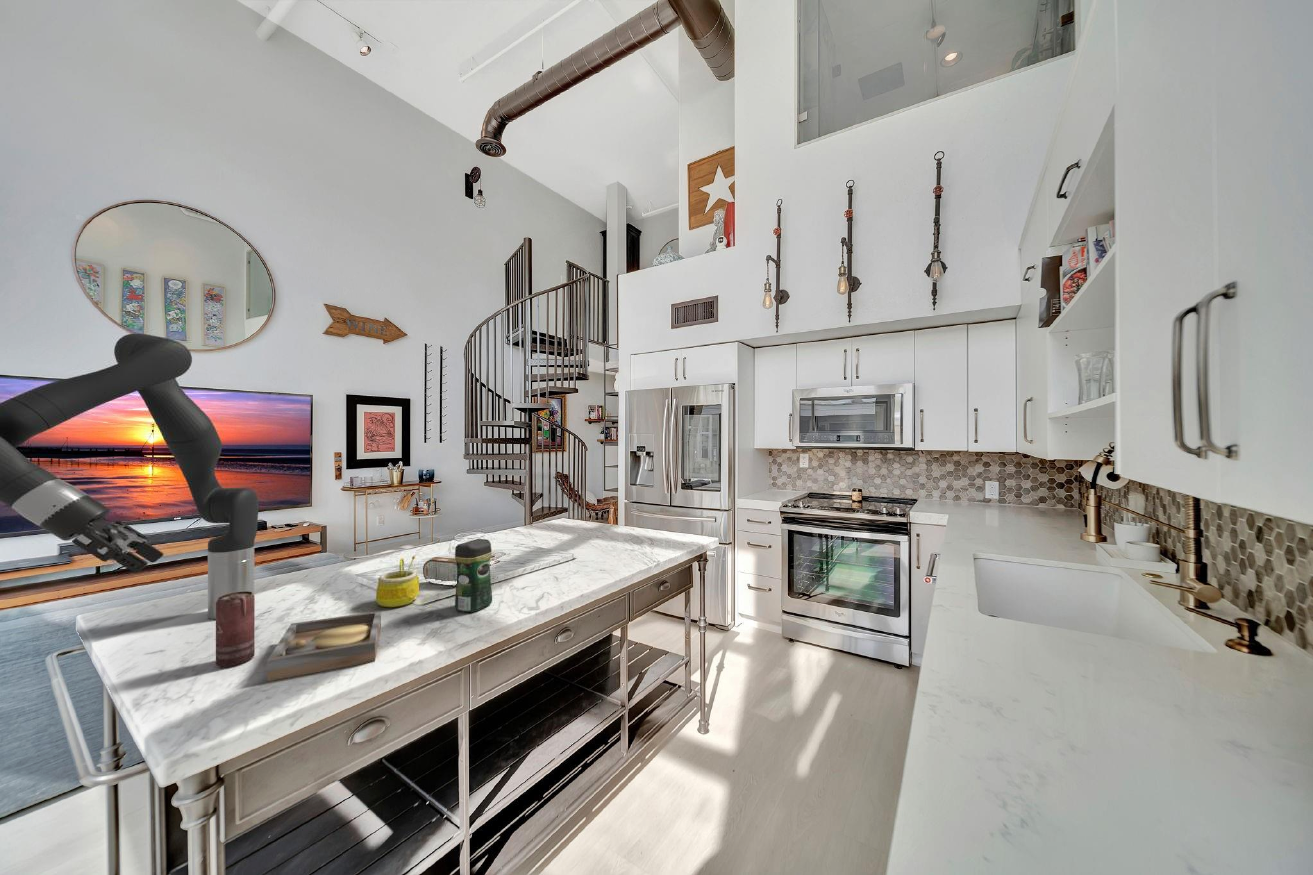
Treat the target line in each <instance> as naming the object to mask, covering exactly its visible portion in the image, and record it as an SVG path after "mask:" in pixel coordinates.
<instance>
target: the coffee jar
mask: <svg viewBox="0 0 1313 875" xmlns="http://www.w3.org/2000/svg"><path fill="white" fill-rule="evenodd" d="M454 548H455V549H454V559H455V560H456V563H457V584H456V586H455V587H456V588H455V597H454V609H456V611H458V612H461V613H465V612H466V613H468V612H469V613H474V612H477V611H480V610H483V609H484V608H486V607H488V606H490V605H492V603H493V591H492V581H491V580H492V578H491V559H492V554H493V552H492V543H491V542H490V539H485V538H477V539H472V540H469V541H466V542H462V543H459V544H457V545H456V546H455V547H454Z"/></svg>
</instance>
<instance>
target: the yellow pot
mask: <svg viewBox="0 0 1313 875" xmlns="http://www.w3.org/2000/svg"><path fill="white" fill-rule="evenodd" d="M415 559H416V556H415V555H413V556H411V562H410V564H409V565H408V566H409V567H408V570H407V569H406V570H405V561H404V560H405V559H404V558H403V557H402V558H400V559H399V560H400V561H399V566H398V567H399V570H395V571H390V572H385V573H384V574H382V575H381V576H379V577H378V578H377V581H378V583H377V587H376V593H375V601H376V603H377V605H379V606H381V607H383V608H397V607H403V606H406V605H409V604H412V603H413V602H414V601H413V600H414V599H415V597H416V596H417V595H418V594H419V595H420V589H419V587H420V579H419V576H418V574H417V573H416V572H415V571H413V570H410V569H411V567H412V565H413V562H414V560H415ZM419 595H418V596H419Z"/></svg>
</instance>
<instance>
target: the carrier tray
mask: <svg viewBox="0 0 1313 875" xmlns="http://www.w3.org/2000/svg"><path fill="white" fill-rule="evenodd" d="M381 628H382V610H377V611H370V612H362V613H355V614H351V615H350V614H349V615H344V616H343V615H342V616H335V617H328V618H322V619H313V620H309V621H307V620H306V621H300V622H299V621H298V622H294V623H290V625H289V626H288V627H287V629H286V631H285V633H284V634H283V636H282V637H281V638H280V639H279V642H278V643H277V645H276V646H275V648H274V649H273V651H271V652H272V653H271V654H270V656H269V657H268V658H267V660H266V682H272V681H277V680H283V679H288V678H293V677H299V676H303V675H308V674H314V673H319V672H326V671H330V670H331V671H332V670H336V669H342V668H347V667H353V666H358V665H363V664H368V663H374V662H376V657H377V652H378V647H379V640H380V635H381Z"/></svg>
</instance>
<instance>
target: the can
mask: <svg viewBox="0 0 1313 875" xmlns="http://www.w3.org/2000/svg"><path fill="white" fill-rule="evenodd" d="M255 602H256V601H255V594H254V595H253V594H252V592H248V591H244V592H235V593H230V594H226V595H223V596H221V597H219V598H218V600H217V602H216V619H215V665H216V666H217V667H218V668H223V669H225V668H227V669H228V668H234V667H236V666H241V665H244V664H246V663H248V662H251V660H252V659H253V658H254V656H255V650H256V649H255V648H256V646H255V644H256V643H255V638H256V636H255V634H256V632H255V629H256V628H255V627H256V626H255V625H256V624H255V618H256V617H255V616H256V615H255Z"/></svg>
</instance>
